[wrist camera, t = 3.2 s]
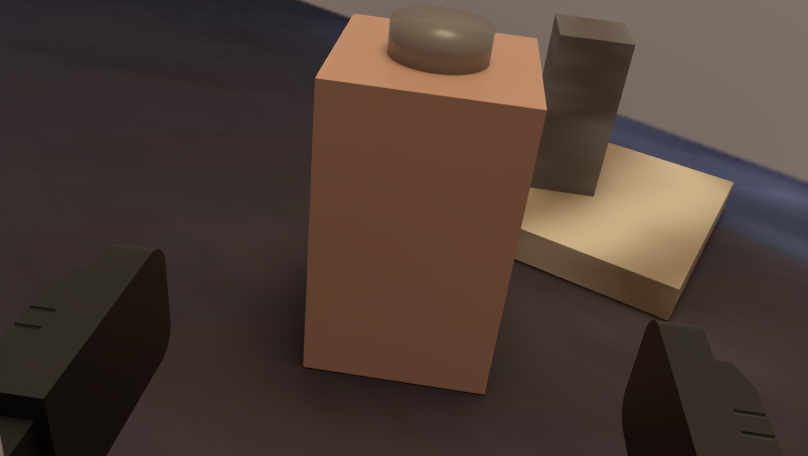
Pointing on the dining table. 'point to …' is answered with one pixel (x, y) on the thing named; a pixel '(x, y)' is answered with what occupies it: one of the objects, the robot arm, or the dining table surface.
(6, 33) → the dining table surface
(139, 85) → the dining table surface
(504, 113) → the square capped bottle
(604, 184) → the shaft board
